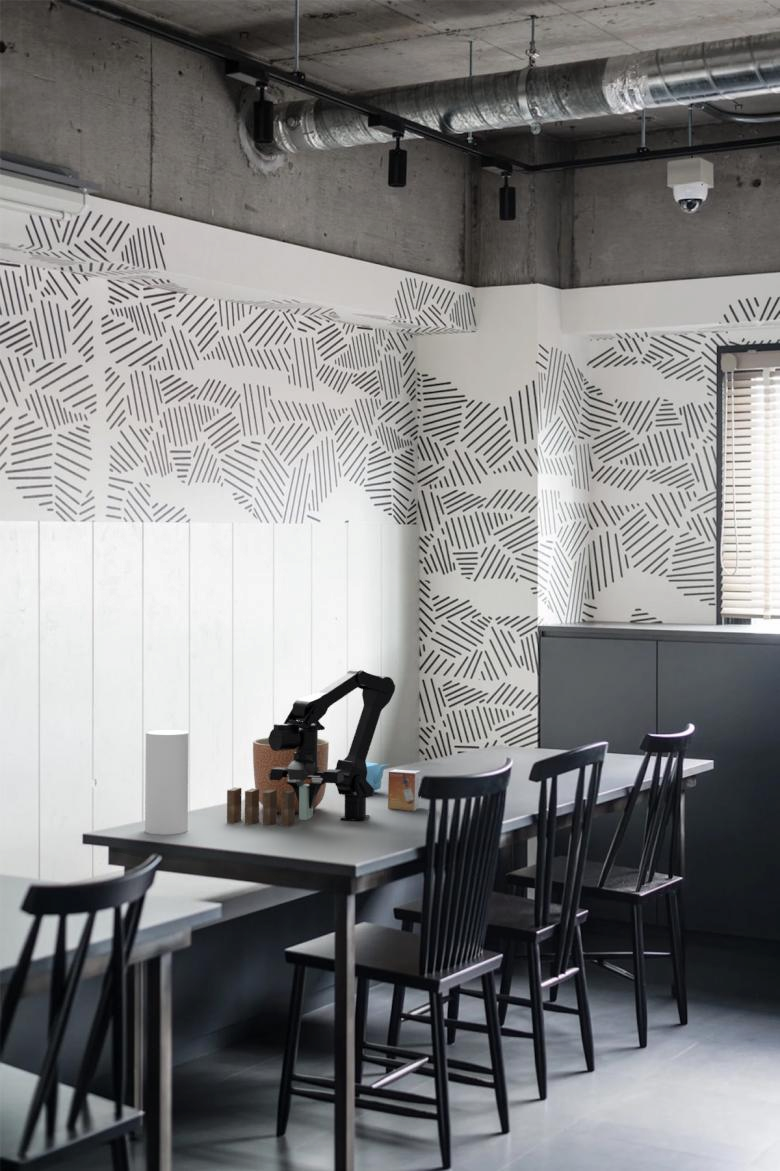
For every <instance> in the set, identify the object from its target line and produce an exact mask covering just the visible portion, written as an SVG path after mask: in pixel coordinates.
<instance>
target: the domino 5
mask: <svg viewBox="0 0 780 1171" xmlns="http://www.w3.org/2000/svg"><path fill="white" fill-rule="evenodd" d="M309 794H310V787H309V784H304V785H302V786H300V787H299V813H298V820H303V821H307V820H309V819H312V818H313V817H314V809H313V806H312V808H311V809H309Z"/></svg>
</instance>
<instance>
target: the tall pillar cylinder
mask: <svg viewBox="0 0 780 1171" xmlns="http://www.w3.org/2000/svg"><path fill="white" fill-rule="evenodd" d="M144 785H145V789H144V790H145V791H144V792H145V795H144V798H145V799H144V800H145V801H144V808H145V809H144V810H145V812H144V815H145V816H144V832H145V833H147V834H151V835H161V836H162V835H167V836H168V835H179V834H184V833H187V832H188V831H189V828H188V827H189V825H188V824H189V822H188V821H189V732H188V731H187V730H179V729H157V730H149V731H146V732H145V784H144Z"/></svg>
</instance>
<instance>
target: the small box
mask: <svg viewBox="0 0 780 1171" xmlns="http://www.w3.org/2000/svg"><path fill="white" fill-rule="evenodd" d="M387 780H388V783H387V784H388V787H387V791H388V792H387V809H388V810H389V809H390V810H391V809H392V810H401V811H402V810H403V811H404V810H405V811H410V810H415V809H417V808H419V807H420V808H421V798H420V799H419V798H418V790H419V787H420V783H421V784H422V771H421V770H410V769H408V770H407V769H396V768H394V769H392V770H389V771H388V778H387ZM420 808H419V809H420ZM417 810H418V809H417ZM415 811H416V810H415Z"/></svg>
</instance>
